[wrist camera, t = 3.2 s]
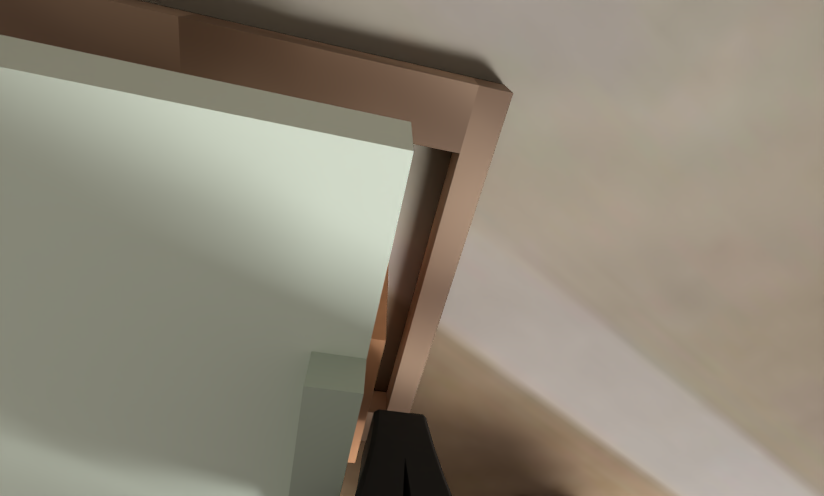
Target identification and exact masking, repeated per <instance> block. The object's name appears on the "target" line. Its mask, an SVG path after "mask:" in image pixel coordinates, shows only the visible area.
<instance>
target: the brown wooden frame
mask: <svg viewBox="0 0 824 496" xmlns="http://www.w3.org/2000/svg"><path fill="white" fill-rule="evenodd" d="M0 35H5V36H9V37H14V38H19V39H23V40H28V41H33V42H38V43H42V44H47V45H52V46H56V47H61V48H66V49H70V50H75V51H80V52H84V53H89V54H94V55H99V56H103V57H108V58H113V59H117V60H122V61H127V62H131V63H136V64H141V65H146V66H150V67H155V68H160V69H164V70H169V71H174V72H178V73H183V74H188V75H193V76H197V77H202V78H207V79H211V80H216V81H221V82H225V83H230V84H235V85H239V86H244V87H249V88H254V89H258V90H263V91H268V92H272V93H277V94H282V95H286V96H291V97H296V98H301V99H305V100H310V101H315V102H319V103H324V104H329V105H333V106H338V107H343V108H347V109H352V110H357V111H362V112H366V113H371V114H376V115H380V116H385V117H390V118H394V119H399V120H404V121H409V122H411V127H412V137H413V144H416V145H421V146H426V147H431V148H436V149H440V150H445V151H450V152H452V156H451V159H450V163H449V166H448V170H447V174H446V177H445V181H444V185H443V188H442V192H441V196H440V199H439V203H438V207H437V210H436V214H435V218H434V221H433V225H432V229H431V232H430V236H429V240H428V243H427V247H426V251H425V254H424V258H423V261H422V265H421V269H420V272H419V276H418V280H417V283H416V287H415V291H414V294H413V298H412V302H411V305H410V309H409V313H408V316H407V320H406V324H405V327H404V331H403V335H402V338H401V342H400V346H399V349H398V353H397V357H396V360H395V364H394V367H393V371H392V375H391V378H390V382H389V386H388V389H387V392H380V391H373V394H372V398H371V402H370V406H369V410H368V414H367V418H366V422H365V426H364V430H363V434H362V437H361V441H366V439H367V436H368V432H369V428H370V424H371V421H372V417H373V413H374V412H375V411H377V410H379V409H380V410H388V411H396V412H404V413H410V411H411V408H412V405H413V401H414V398H415V395H416V392H417V389H418V386H419V383H420V380H421V377H422V374H423V371H424V367H425V364H426V361H427V358H428V355H429V352H430V349H431V346H432V343H433V340H434V337H435V333H436V330H437V327H438V324H439V321H440V318H441V315H442V312H443V309H444V306H445V302H446V299H447V296H448V293H449V290H450V287H451V284H452V281H453V278H454V275H455V272H456V268H457V265H458V262H459V259H460V256H461V253H462V250H463V247H464V244H465V241H466V237H467V234H468V231H469V228H470V225H471V222H472V219H473V216H474V213H475V210H476V207H477V203H478V200H479V197H480V194H481V191H482V188H483V185H484V182H485V179H486V176H487V172H488V169H489V166H490V163H491V160H492V157H493V154H494V151H495V148H496V145H497V142H498V138H499V135H500V132H501V129H502V126H503V123H504V120H505V117H506V114H507V111H508V107H509V104H510V101H511V98H512V95H513V93H512V92H511V91H510V90H509V89H508V88H507V87H506V86H505V85H503V84H498V83H494V82H490V81H485V80H481V79H477V78H472V77H468V76H464V75H459V74H455V73H451V72H446V71H442V70H438V69H434V68H429V67H425V66H421V65H416V64H412V63H408V62H403V61H399V60H395V59H390V58H386V57H382V56H377V55H373V54H369V53H364V52H360V51H356V50H351V49H347V48H343V47H338V46H334V45H330V44H325V43H321V42H317V41H312V40H308V39H304V38H299V37H295V36H291V35H286V34H282V33H278V32H273V31H269V30H265V29H260V28H256V27H252V26H247V25H243V24H239V23H234V22H230V21H226V20H221V19H217V18H213V17H208V16H204V15H200V14H195V13H191V12H187V11H183V10H178V9H174V8H170V7H165V6H161V5H157V4H152V3H148V2H144V1H139V0H0Z"/></svg>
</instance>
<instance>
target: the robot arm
mask: <svg viewBox="0 0 824 496" xmlns="http://www.w3.org/2000/svg"><path fill="white" fill-rule="evenodd" d="M355 496H452V495H451V492H450V490H449V487H448V485H447V482H446V479H445V477H444V474H443V471H442V468H441V465H440V462H439V460H438V457H437V454H436V451H435V447H434V444H433V441H432V438H431V434H430V431H429V427H428V424H427V420H426V418H425V416H424V415H420V414H412V413H404V412H396V411H388V410H380V409H379V410H377V411H375V412H374V413H373V417H372V421H371V424H370V428H369V432H368V436H367V439H366V443H365V447H364V451H363V454H362V461H361V468H360V474H359V480H358V486H357V491H356V494H355Z"/></svg>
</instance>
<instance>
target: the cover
mask: <svg viewBox="0 0 824 496" xmlns="http://www.w3.org/2000/svg"><path fill="white" fill-rule="evenodd" d="M413 153H414V148H413V137H412V127H411V122H409V121H404V120H399V119H394V118H390V117H385V116H380V115H376V114H371V113H366V112H362V111H357V110H352V109H347V108H343V107H338V106H333V105H329V104H324V103H319V102H315V101H310V100H305V99H301V98H296V97H291V96H286V95H282V94H277V93H272V92H268V91H263V90H258V89H254V88H249V87H244V86H239V85H235V84H230V83H225V82H221V81H216V80H211V79H207V78H202V77H197V76H193V75H188V74H183V73H178V72H174V71H169V70H164V69H160V68H155V67H150V66H146V65H141V64H136V63H131V62H127V61H122V60H117V59H113V58H108V57H103V56H99V55H94V54H89V53H84V52H80V51H75V50H70V49H66V48H61V47H56V46H52V45H47V44H42V43H38V42H33V41H28V40H23V39H19V38H14V37H9V36H5V35H0V496H340V492H341V488H342V483H343V479H344V475H345V471H346V467H347V462H348V458H349V454H350V450H351V445H352V441H353V437H354V433H355V428H356V424H357V420H358V416H359V411H360V407H361V403H362V399H363V394H364V384H365V372H366V360H367V355H368V350H369V346H370V342H371V337H372V333H373V328H374V324H375V320H376V315H377V311H378V306H379V302H380V298H381V293H382V289H383V284H384V280H385V276H386V271H387V267H388V263H389V258H390V254H391V249H392V245H393V241H394V236H395V232H396V227H397V223H398V219H399V214H400V210H401V205H402V201H403V197H404V192H405V188H406V183H407V179H408V175H409V170H410V166H411V161H412V157H413Z"/></svg>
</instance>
